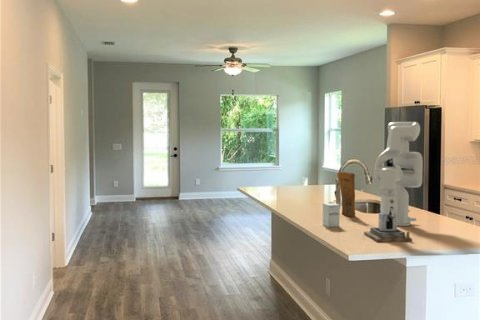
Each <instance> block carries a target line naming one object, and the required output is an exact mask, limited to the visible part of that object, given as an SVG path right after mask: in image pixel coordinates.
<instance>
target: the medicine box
mask: <svg viewBox="0 0 480 320" xmlns="http://www.w3.org/2000/svg"><path fill="white" fill-rule="evenodd" d="M389 215H391V214H389ZM396 216H397V215H394V218H393V229H386V221H387V215H385V214H383V213H381V212H379V213H378V228H379V230H380V231H396ZM389 217H390V216H389Z"/></svg>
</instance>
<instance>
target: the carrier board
mask: <svg viewBox="0 0 480 320" xmlns="http://www.w3.org/2000/svg"><path fill="white" fill-rule="evenodd" d="M363 235H364V236H366V237H368V238H369V239H371V240H372V241H374V242H376V243H397V242H398V243H400V242H401V243H402V242H412V241H413V238H412V237H411V236H410V231H406V232H405V231H404V230H403V231H402V230H400V229H399V228H398V226H396V231H380V230H379V227H370V228H369V230H368V231H363Z"/></svg>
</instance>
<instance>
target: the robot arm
mask: <svg viewBox="0 0 480 320" xmlns="http://www.w3.org/2000/svg"><path fill="white" fill-rule="evenodd" d="M387 131H388V136H387V142H386V149H385V150H384V151H382V152H381V153H380V154H379V155H378V156H377V158H376V160H375V164H374V171H373V177H374V179H375V180H377V181H380V188H379V189H380V194H379V195H380V203H379V204H380V205H379V206H380V210H379V211H380V213H383V214H385V215H387V221H386V229H393V218H394V215H397V216H396V226H397V227H407V226H411V225H412V222H417V218H416V217H410V216H409V203H410V201H409V200H410V199H409V198H410V196H409V192H408V190H406V188H420V187H421V186H422V184H423V168H424V167H423V165H424V164H423V156H422V154H421V152H418V151H410V142H415V141H416V140H417V138H418V137H419V135H420V132H421V126H420V124H419V122H417V121H393V122H389V123H388V124H387ZM389 160H393V165H394V166H384V165H383V164H384V163H385V162H387V161H389ZM382 165H383V166H382ZM402 169H403V170H402ZM405 169H412V170H405ZM389 214H391V215H389ZM389 216H390V217H389Z"/></svg>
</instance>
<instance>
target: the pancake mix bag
mask: <svg viewBox="0 0 480 320" xmlns="http://www.w3.org/2000/svg"><path fill="white" fill-rule="evenodd" d="M355 177H356V174H355V173H353V172H345V171H344V172H343V171H338V172H337V180H338V184H339V189H340V195H341V207H342V208H341V215H342V216H347V217H348V218H356V201H355V200H356V185H355V184H356V181H355V179H356V178H355Z"/></svg>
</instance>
